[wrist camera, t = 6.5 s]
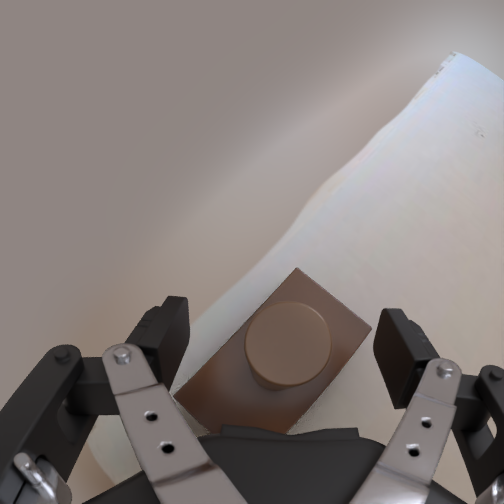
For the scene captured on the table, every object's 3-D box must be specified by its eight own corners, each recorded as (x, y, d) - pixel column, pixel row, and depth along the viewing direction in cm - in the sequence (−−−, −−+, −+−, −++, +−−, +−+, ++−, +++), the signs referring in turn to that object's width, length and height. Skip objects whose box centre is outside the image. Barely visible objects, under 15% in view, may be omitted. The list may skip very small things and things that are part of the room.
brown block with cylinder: (252, 457, 16) (245, 516, 7) (185, 396, 17) (112, 392, 8) (357, 338, 19) (436, 281, 10) (291, 285, 20) (315, 189, 11)
